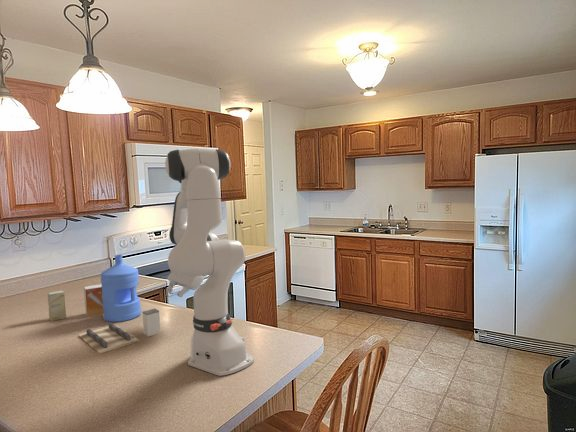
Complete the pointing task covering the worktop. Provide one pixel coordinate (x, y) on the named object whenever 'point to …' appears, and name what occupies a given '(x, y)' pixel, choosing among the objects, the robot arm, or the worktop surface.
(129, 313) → the water jug
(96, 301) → the small box
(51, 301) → the skincare box
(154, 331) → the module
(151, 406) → the worktop surface
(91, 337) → the rail board
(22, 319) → the worktop surface
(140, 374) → the worktop surface
